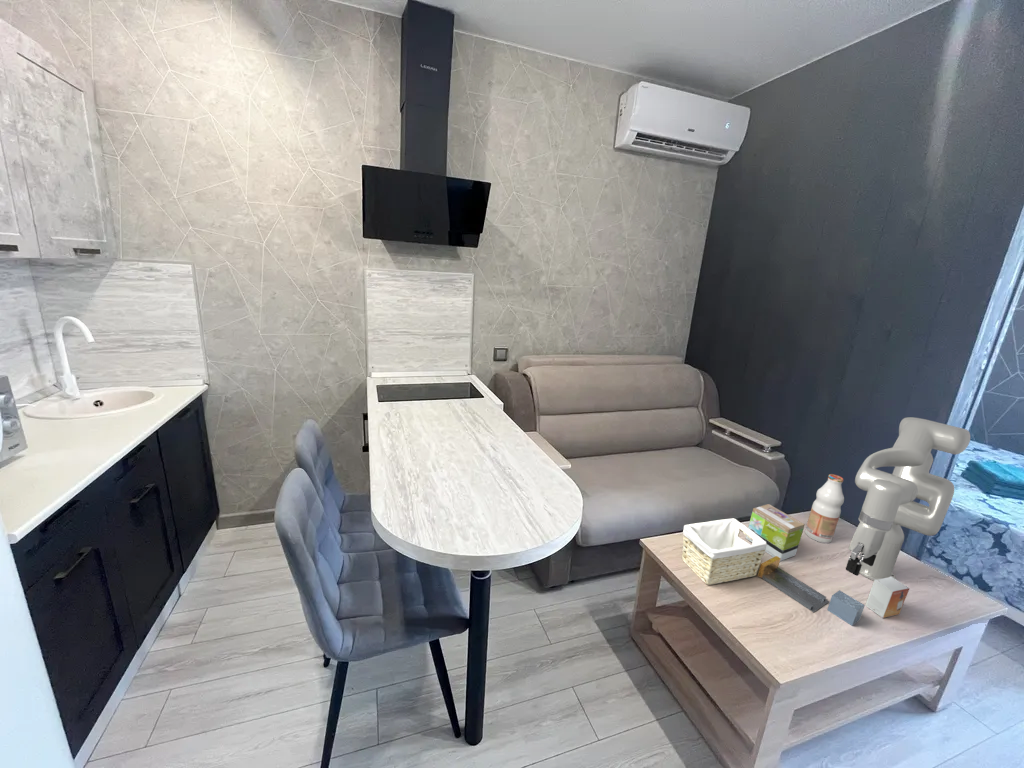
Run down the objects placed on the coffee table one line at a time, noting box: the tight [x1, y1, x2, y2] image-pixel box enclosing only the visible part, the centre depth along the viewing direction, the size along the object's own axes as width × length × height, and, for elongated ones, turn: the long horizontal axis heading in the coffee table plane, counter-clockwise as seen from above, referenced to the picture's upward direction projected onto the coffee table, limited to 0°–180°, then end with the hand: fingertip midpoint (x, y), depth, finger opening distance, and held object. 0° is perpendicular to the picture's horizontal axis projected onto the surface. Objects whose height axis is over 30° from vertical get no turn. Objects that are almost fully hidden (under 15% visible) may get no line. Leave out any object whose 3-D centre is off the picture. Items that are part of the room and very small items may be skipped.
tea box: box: [745, 503, 806, 562], centre depth 165 cm, size 15×10×15 cm, turn 25°
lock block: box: [827, 589, 866, 627], centre depth 135 cm, size 5×7×6 cm
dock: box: [757, 556, 830, 613], centre depth 145 cm, size 10×18×5 cm, turn 30°
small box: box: [864, 577, 910, 619], centre depth 137 cm, size 8×6×10 cm
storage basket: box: [681, 517, 767, 586], centre depth 152 cm, size 24×16×15 cm
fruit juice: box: [804, 473, 845, 544], centre depth 173 cm, size 9×9×28 cm
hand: (859, 567), depth 130 cm, fingers open, 9 cm apart
